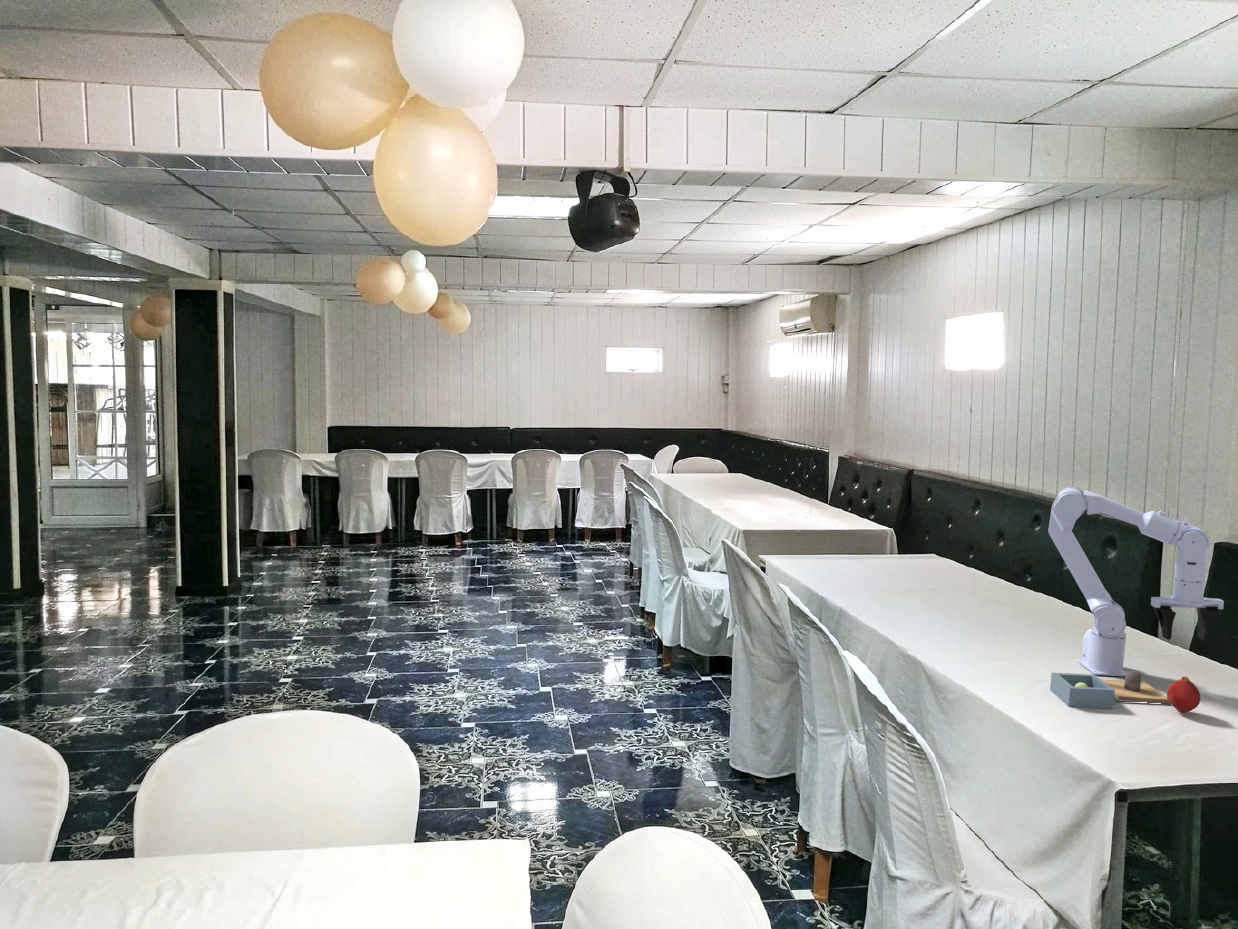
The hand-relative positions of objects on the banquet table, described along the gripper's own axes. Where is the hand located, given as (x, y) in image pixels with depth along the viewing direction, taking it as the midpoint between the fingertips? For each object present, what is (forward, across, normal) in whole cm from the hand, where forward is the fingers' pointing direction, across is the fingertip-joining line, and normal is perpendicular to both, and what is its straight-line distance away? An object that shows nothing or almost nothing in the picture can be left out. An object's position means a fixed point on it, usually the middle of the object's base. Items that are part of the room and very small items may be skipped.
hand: (1184, 638), depth 192 cm
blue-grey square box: (+10, -28, -13) cm, 32 cm away
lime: (+8, -28, -13) cm, 31 cm away
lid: (+10, -15, -8) cm, 19 cm away
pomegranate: (+11, -10, -18) cm, 23 cm away
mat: (+10, -15, -8) cm, 19 cm away
